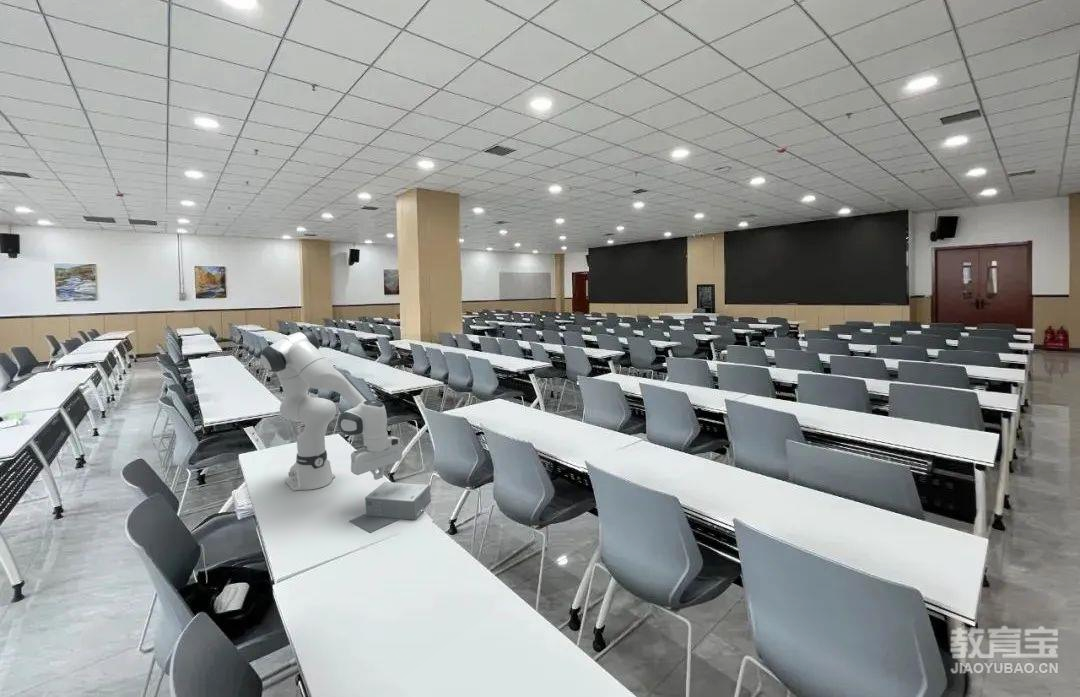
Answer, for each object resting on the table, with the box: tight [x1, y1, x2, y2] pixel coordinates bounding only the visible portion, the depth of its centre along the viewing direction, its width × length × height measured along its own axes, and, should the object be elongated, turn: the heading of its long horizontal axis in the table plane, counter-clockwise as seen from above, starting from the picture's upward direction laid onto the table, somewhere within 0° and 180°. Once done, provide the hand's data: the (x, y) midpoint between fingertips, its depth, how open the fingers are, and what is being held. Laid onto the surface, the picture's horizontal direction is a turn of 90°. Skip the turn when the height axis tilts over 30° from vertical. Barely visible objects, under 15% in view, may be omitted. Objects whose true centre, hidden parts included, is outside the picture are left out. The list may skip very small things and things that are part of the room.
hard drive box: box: [364, 481, 432, 520], centre depth 196 cm, size 16×8×20 cm
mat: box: [348, 513, 401, 534], centre depth 192 cm, size 14×22×1 cm, turn 141°
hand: (378, 478), depth 192 cm, fingers closed
